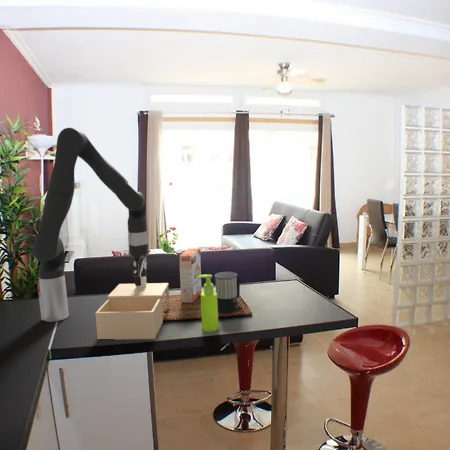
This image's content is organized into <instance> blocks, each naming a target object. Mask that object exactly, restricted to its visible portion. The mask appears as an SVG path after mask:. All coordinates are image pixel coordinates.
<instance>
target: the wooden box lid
mask: <svg viewBox="0 0 450 450" xmlns="http://www.w3.org/2000/svg"><path fill="white" fill-rule="evenodd" d="M167 287H168V288H169V283H168V282H157V283H156V282H153V283H152V282H151V283H149V282H147V276H146V277H141V286H135V283H118V285H117V286H115V288H114V289H113V290H112V291H111V292H110V293H109V294H108V295H107V298H159V297H162V296H163V294H164V292H165V290H166V289H167ZM164 295H165V294H164ZM163 297H164V296H163Z"/></svg>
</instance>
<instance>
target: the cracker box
mask: <svg viewBox="0 0 450 450" xmlns="http://www.w3.org/2000/svg"><path fill="white" fill-rule="evenodd" d="M178 257H179V279H180V280H179V281H180V302H181V303H184V304H194V302H196V301H197V298H199V296H201V293H202V278H199V279H198V278H197V276H199V275H202V272H201V270H202V269H201V268H202V267H201V266H202V265H201V262H202V261H201V249H200V248H188V249H186V250H185V251H184V252H183V253H181V254H179V256H178Z"/></svg>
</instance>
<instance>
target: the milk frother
mask: <svg viewBox="0 0 450 450" xmlns="http://www.w3.org/2000/svg"><path fill="white" fill-rule="evenodd" d="M214 277H215V280H214V281H215V292H216V293H217V304H218V314H219V313H220V314H223V315H230V314H235V313H236V312H238V311H239V304H238V299H239V298H240V292H241V291H240V287H241V285H240V284H241V280H240V279H241V278H240V276H239V274H238V273H236V272H234V271H221V272H216V273H215V274H214Z"/></svg>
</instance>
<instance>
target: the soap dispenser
mask: <svg viewBox="0 0 450 450" xmlns="http://www.w3.org/2000/svg"><path fill="white" fill-rule="evenodd" d="M197 278H198V279H199V278H201V279H205V283H204V284H203V291H201V294H200V307H201V309H200V311H201V328H202V329H201V330H202V331H204V332H208V333H210V332H212V333H213V332H216V331H217V330H218V329H219V312H218V304H217V293H216V291H215V290H214V283H212V282H211V281H212V279H211V278H213V275H212V274H201V275H199V276H197Z"/></svg>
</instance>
